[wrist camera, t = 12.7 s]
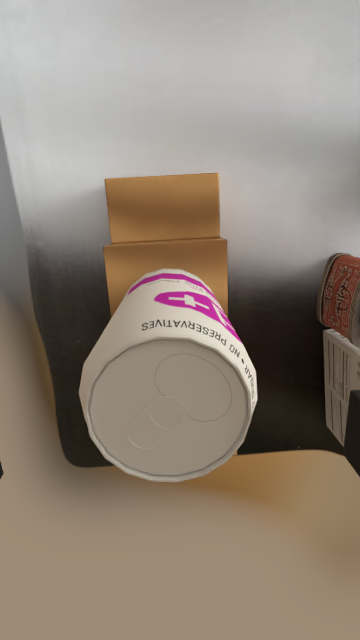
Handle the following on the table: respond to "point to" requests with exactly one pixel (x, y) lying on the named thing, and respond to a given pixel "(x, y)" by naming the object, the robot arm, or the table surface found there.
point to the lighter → (341, 296)
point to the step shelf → (165, 232)
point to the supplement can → (168, 381)
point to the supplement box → (339, 379)
